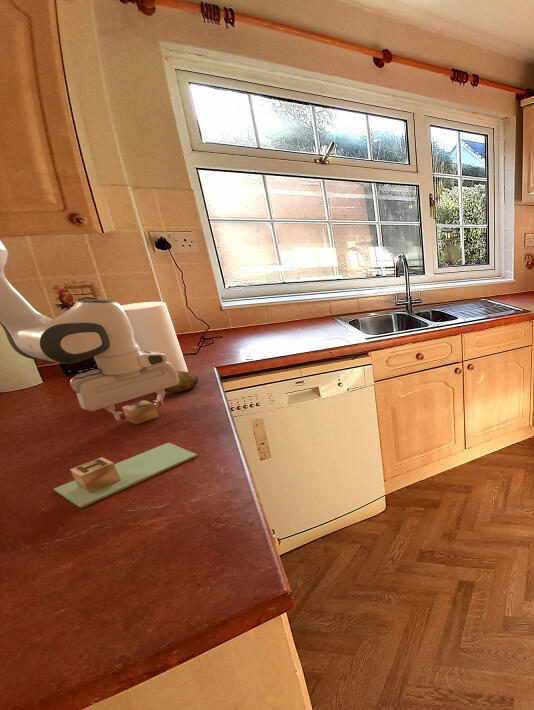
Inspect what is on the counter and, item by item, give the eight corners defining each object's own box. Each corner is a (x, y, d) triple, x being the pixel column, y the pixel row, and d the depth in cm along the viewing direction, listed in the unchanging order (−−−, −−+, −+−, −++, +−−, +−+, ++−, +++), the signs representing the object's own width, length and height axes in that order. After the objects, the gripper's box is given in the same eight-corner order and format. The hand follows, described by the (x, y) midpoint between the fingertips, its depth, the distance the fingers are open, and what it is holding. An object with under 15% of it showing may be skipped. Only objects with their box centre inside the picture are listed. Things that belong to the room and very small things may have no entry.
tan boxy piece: (136, 424, 109) (130, 410, 107) (127, 420, 111) (121, 406, 110) (158, 416, 113) (153, 402, 111) (149, 413, 115) (144, 399, 114)
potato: (202, 390, 130) (194, 365, 127) (149, 401, 122) (139, 376, 119) (199, 382, 136) (192, 359, 133) (148, 393, 128) (139, 368, 125)
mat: (80, 508, 78) (79, 506, 77) (54, 490, 83) (53, 488, 83) (197, 456, 94) (197, 454, 94) (169, 444, 99) (168, 442, 99)
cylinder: (189, 372, 145) (165, 299, 136) (190, 383, 136) (164, 305, 126) (143, 381, 138) (114, 305, 129) (140, 392, 129) (109, 311, 119)
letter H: (89, 493, 81) (80, 475, 79) (77, 486, 83) (69, 468, 82) (121, 479, 85) (113, 462, 83) (109, 473, 87) (101, 456, 86)
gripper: (72, 378, 96) (96, 432, 101) (173, 353, 113) (189, 400, 118) (61, 374, 99) (85, 426, 104) (161, 350, 116) (177, 396, 121)
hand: (141, 412), depth 111 cm, fingers open, 7 cm apart
